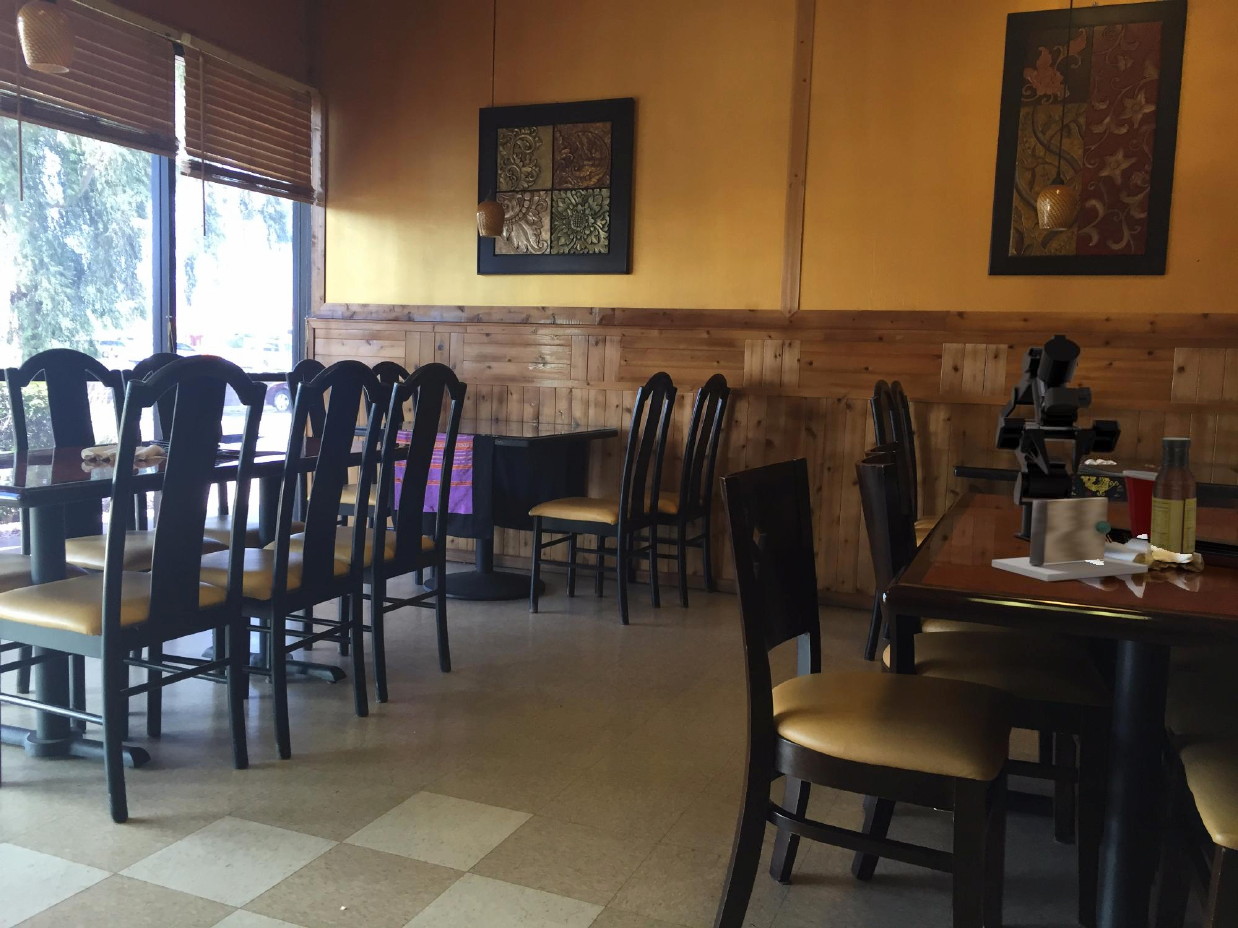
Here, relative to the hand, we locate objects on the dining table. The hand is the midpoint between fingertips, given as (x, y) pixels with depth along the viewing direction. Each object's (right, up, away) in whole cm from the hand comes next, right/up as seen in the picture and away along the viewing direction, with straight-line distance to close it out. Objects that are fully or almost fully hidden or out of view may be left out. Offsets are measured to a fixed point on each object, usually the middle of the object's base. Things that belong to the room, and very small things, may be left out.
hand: (1062, 473), depth 160 cm
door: (-4, -13, -11) cm, 18 cm away
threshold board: (-3, -15, -10) cm, 18 cm away
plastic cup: (+25, -12, +19) cm, 34 cm away
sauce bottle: (+17, -14, -2) cm, 22 cm away
